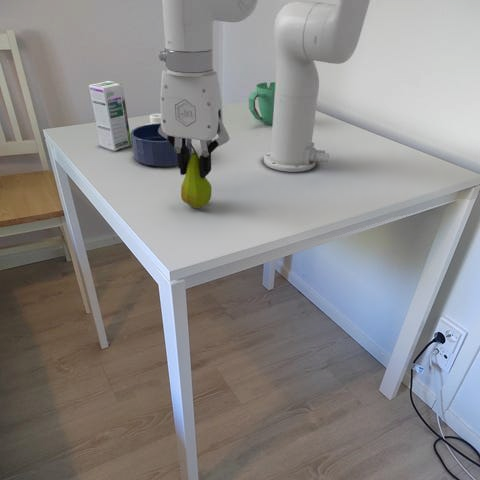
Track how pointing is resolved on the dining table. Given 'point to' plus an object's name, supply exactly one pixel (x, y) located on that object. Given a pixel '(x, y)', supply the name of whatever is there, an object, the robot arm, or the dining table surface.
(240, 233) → the dining table surface
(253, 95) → the mug
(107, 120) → the syrup box
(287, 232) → the dining table surface
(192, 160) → the fruit
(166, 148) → the bowl
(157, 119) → the candle holder
